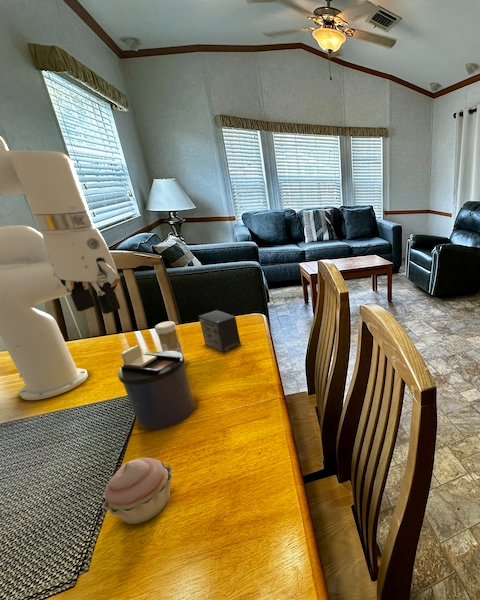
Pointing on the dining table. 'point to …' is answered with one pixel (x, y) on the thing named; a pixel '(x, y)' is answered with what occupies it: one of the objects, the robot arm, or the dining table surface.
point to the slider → (136, 357)
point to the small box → (220, 331)
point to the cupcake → (138, 490)
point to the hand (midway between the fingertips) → (99, 309)
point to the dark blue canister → (159, 390)
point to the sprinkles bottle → (169, 337)
